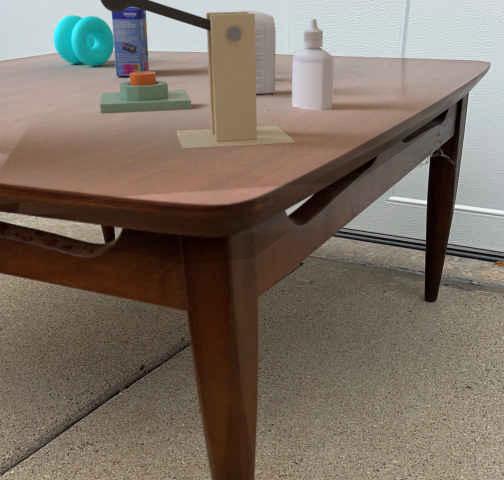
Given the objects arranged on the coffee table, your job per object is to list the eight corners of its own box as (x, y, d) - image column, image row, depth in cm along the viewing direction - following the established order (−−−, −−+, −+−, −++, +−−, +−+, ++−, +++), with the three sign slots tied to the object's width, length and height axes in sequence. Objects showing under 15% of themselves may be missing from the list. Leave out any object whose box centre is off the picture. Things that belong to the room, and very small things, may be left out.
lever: (95, 7, 67) (102, -28, 66) (96, 6, 70) (103, -28, 69) (240, 52, 71) (249, 21, 70) (236, 49, 74) (244, 19, 73)
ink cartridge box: (145, 77, 131) (138, -7, 125) (115, 77, 131) (107, -6, 125) (151, 70, 140) (144, -8, 134) (123, 71, 140) (116, -7, 133)
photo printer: (271, 90, 113) (270, 8, 108) (279, 94, 109) (278, 10, 104) (210, 94, 111) (206, 11, 105) (215, 98, 107) (212, 12, 102)
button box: (101, 121, 92) (98, 90, 90) (103, 108, 101) (100, 80, 99) (191, 116, 93) (189, 86, 92) (185, 104, 102) (183, 76, 101)
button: (130, 88, 94) (129, 75, 93) (130, 84, 97) (129, 71, 96) (157, 87, 94) (156, 74, 93) (156, 83, 97) (155, 70, 97)
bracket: (183, 159, 72) (174, 17, 66) (177, 141, 80) (168, 12, 74) (295, 152, 74) (296, 13, 68) (278, 135, 82) (277, 9, 76)
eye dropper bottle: (304, 119, 90) (305, 21, 85) (289, 112, 95) (289, 18, 90) (335, 117, 91) (338, 19, 86) (318, 110, 96) (320, 17, 91)
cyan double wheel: (93, 61, 157) (87, 13, 153) (118, 64, 151) (114, 14, 146) (54, 65, 151) (47, 16, 146) (79, 68, 144) (73, 17, 140)
